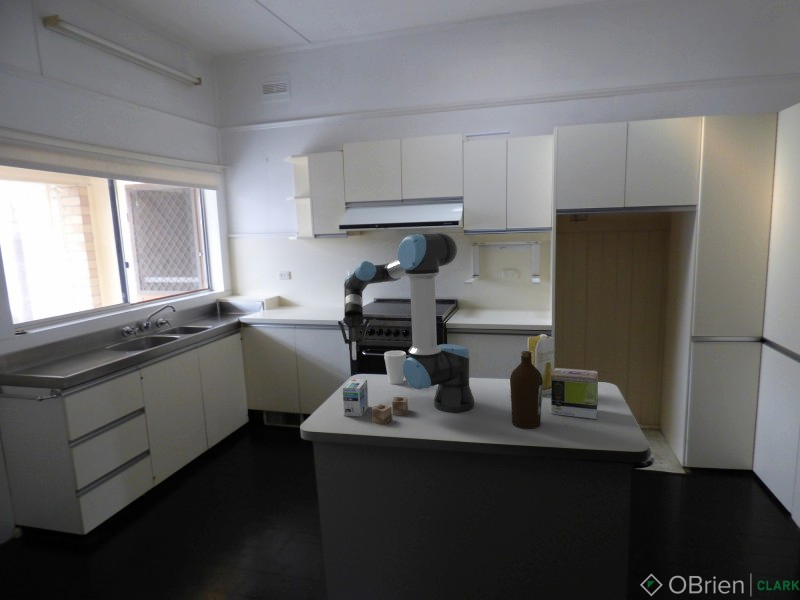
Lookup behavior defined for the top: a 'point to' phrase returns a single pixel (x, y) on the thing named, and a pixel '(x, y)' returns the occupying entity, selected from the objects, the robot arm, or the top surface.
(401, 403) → the walnut cube
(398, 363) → the foam cup
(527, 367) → the olive oil
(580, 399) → the tea box
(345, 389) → the light bulb box
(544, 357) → the juice carton
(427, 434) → the top surface
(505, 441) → the top surface
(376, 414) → the walnut cube
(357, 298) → the robot arm
